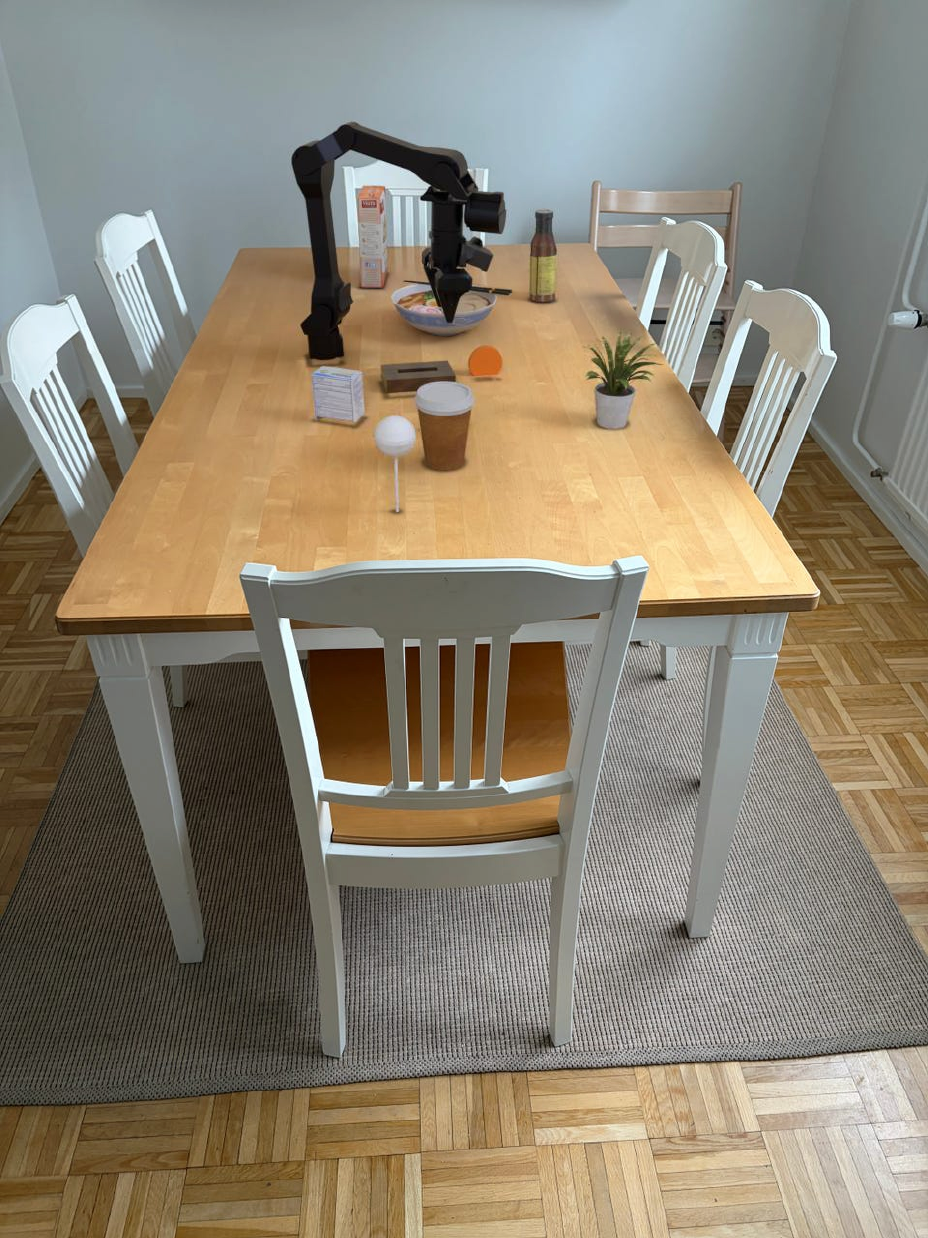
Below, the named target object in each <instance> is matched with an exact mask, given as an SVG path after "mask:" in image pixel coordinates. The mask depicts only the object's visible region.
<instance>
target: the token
mask: <svg viewBox="0 0 928 1238" xmlns="http://www.w3.org/2000/svg"><path fill="white" fill-rule="evenodd" d="M467 360H468V361H467V366H468V369H469V371H470V374H471V375H472V376H473V377H485V376H487V377H488V376H498V374H500V371H501V369H502V366H503V358H502V354H501V353H500V352H499V351H498V349H497V348H495V347H494V346H492V345H480V346H478V347H476V348H475V349H474V350H473V351H472V352H471V353H470V355H469V357H468V359H467Z"/></svg>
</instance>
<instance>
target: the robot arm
mask: <svg viewBox="0 0 928 1238" xmlns="http://www.w3.org/2000/svg"><path fill="white" fill-rule="evenodd" d="M350 151H353V152H355V153H358V154H361V155H364V156H367V157H369V158H372V159H375V160H379V161H380V162H384V163H386V164H389V165H391V166H396V167H397V168H400V169H404V170H406V171H408V172H411V173H412V174H414V175H415V176H416V177H418V179H420V180H421V181H422V182H424V183H426V184H427V185H429V186H428V187H427V189H426V191H425V192H424V193H423V194H421V196H420V197H419V200H420V202H428V203H429V202H430V203H431V209H430V210H431V219H430V220H431V221H430V222H431V223H430V227H431V228H430V230H429V231H428V238H429V239H430V246H429V247H425V248H424V249H423V250H422V251H421V263H422V265H423V266H422V268H423V270H424V273H425V275H426V279H427V282H429V284H430V286H431V289H432V292H433V295H434V297H435V300H436V303H437V306H438V307H442V310H443V313H444V316H445V319H446V322H447V323H452V322H453V320H454V316H455V313H456V310H457V306H458V303H459V300H460V297H461V296H462V295H464V294H465V293H468V292H469V290H471V289H472V284H473V277H472V276H471V274H470V273H469V272H468V271H467V270H466V269H465V268H467V265H469V266H472V267H474V268H478V269H480V270H481V271H482V272H485V273H486V272H488V271H489V268H490V266H491V263H492V261H493V258H494V254H493V253H492V251H491V250H490V249H488V248H487V247H486V246H484V242H483V240H482V239H481V238H480V237H477V236H472V238H470V239H469V240H467V237H465V235H464V234H463V233H464V225H465V227H466V228H469V231H470V232H476V233H486V234H495V235H502V234H503V233H504V230H505V226H506V219H507V209H506V202H505V193H504V191H483V190H482V191H481V190H479V189H480V188H479V186H478V185H477V183H476V181H475V180H474V178H473V177H472V175H471V173H470V172H469V167H468V161H467V159H466V157H465V155H464V154H463V153H462V152H461V151H459V150H457V149H453V148H447V147H446V148H445V147H439V146H422V145H418V144H415V143H412V142H409V141H406V140H403V139H401V138H397V137H395V136H391V135H389V134H387V133H383V132H381V131H377V130H375V129H372V128H369V127H366V126H364V125H361V124H360V123H358V122H357V121H349V122H346V123H344V124H341V125H339V127H338V128H337V129H336V130H334V131H332V132H331V133H330V134H329V135H327V136H325V137H323V138H322V139H320V140H319V139H317V140H316V139H315V140H312V141H309V142H307V143H304V144H303V145H300V146H299V147H297V148H296V149H295V150H294V151H293V153H292V155H291V158H290V160H291V161H290V162H291V169H292V171H293V175H294V179H295V182H296V185H297V187H298V188H299V190H300V192H301V194H302V196H303V198H304V201H305V209H306V210H305V211H306V218H307V225H308V232H309V233H308V234H309V240H310V249H311V256H312V264H313V265H312V266H313V272H314V281H313V285H312V291H311V297H310V314H309V315H307V317H306V318H305V319H304V320H303V321H302V322H301V323H300V324H299V325H300V328H301V331H302V333H303V335H304V336H307V337H306V338H307V348H308V349H307V350H308V357H309V359H310V360H317V361H331V360H335V359H338V358H341V357H345V350H344V338H343V334H342V333H341V331H340V328H339V325H341V324H342V323H343V320H344V318H345V317H346V316H347V315H348V314H349V312H350V310H351V305H352V304H353V303H354V299H353V297H352V293H351V291H352V285H351V281H349V282H344V281H343V279H342V277H341V276H340V275H341V274H340V272H339V264H338V262H339V261H338V255H337V254H338V253H337V246H336V237H335V236H336V235H335V227H334V219H333V209H332V201H331V193H332V189H333V183H334V178H335V164H336V163H335V162H336V160H338V159H340V158H341V157H343V156H344V155H346V153H348V152H350Z"/></svg>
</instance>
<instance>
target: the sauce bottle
mask: <svg viewBox="0 0 928 1238" xmlns="http://www.w3.org/2000/svg"><path fill="white" fill-rule="evenodd" d="M534 217H535V229H534V230H535V233H534V235H533V237H532V238H531V241H530V248H529V249H530V254H529V290H528V291H529V298H530V301H533V302H536V303H541V304H543V303H544V304H545V303H550V302H553V301H554V300H555V298H556V293H557V262H558V261H557V259H558V256H557V255H558V248H557V245H556V242H555V237H554V232H553V218H554V211H553V210H552V209H548V208H543V209H541V208H540V209H536V210H535V213H534Z"/></svg>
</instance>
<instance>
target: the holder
mask: <svg viewBox="0 0 928 1238" xmlns="http://www.w3.org/2000/svg"><path fill="white" fill-rule="evenodd" d="M380 378H381V381H382V384H383V386H384V389H385V392H386V394H397V393H398V394H399V393H411V392H413V393H414V392H417V390H418V389H419V388H420V387H421V386H423V385H425V384H428V383H432V382H444V381H446V382H456V383H457V375H456V374H455V371H454V370H453V368H452V366H451V365H450V362H449V361H448V360H433V361H418V362H402V363H401V362H400V363H388V364H380Z"/></svg>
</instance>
